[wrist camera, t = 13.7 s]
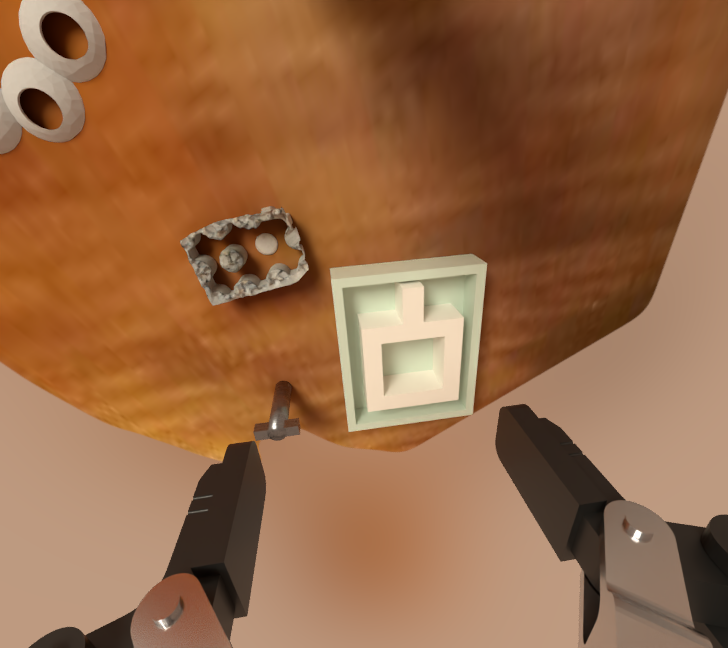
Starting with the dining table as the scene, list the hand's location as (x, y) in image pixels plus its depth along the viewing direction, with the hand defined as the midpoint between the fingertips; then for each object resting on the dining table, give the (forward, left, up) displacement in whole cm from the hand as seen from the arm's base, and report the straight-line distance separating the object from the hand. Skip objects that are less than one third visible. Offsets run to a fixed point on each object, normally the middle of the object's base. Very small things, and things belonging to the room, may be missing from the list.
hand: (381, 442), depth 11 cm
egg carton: (0, -9, -29) cm, 30 cm away
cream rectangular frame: (+11, +7, -27) cm, 30 cm away
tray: (+13, +7, -28) cm, 32 cm away
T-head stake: (+17, -9, -28) cm, 34 cm away
